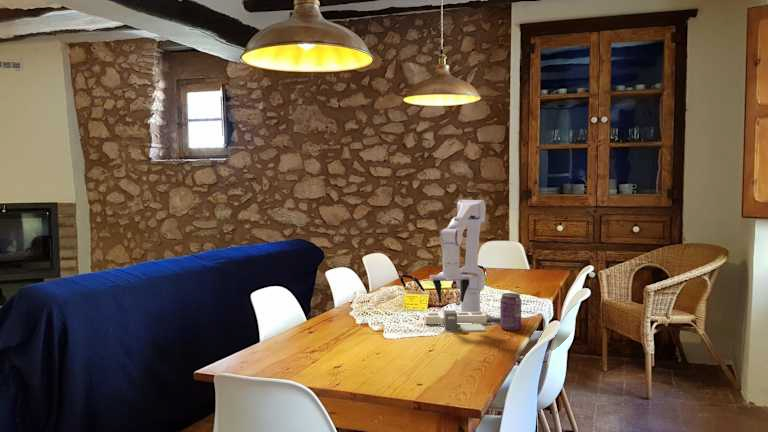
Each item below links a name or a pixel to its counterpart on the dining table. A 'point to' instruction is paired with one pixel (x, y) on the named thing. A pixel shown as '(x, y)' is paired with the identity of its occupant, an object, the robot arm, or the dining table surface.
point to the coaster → (471, 327)
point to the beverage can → (510, 311)
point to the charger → (450, 320)
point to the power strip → (459, 318)
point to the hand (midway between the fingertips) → (450, 301)
